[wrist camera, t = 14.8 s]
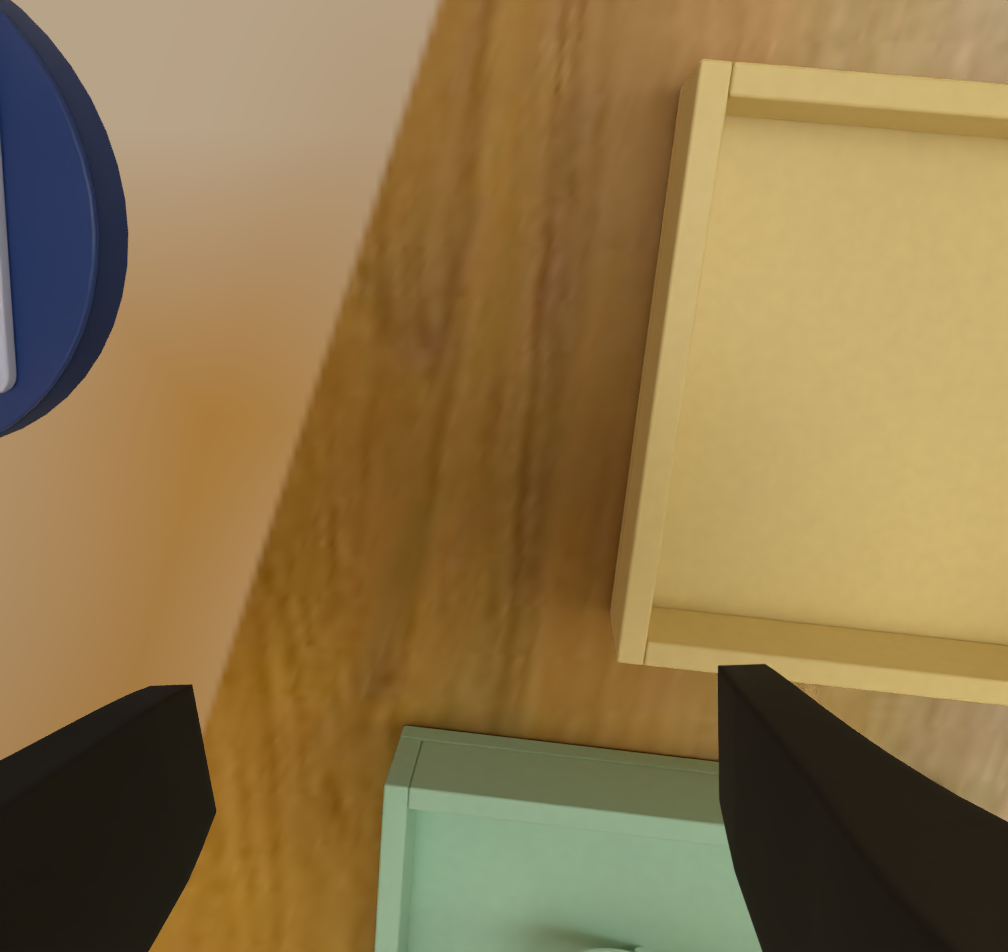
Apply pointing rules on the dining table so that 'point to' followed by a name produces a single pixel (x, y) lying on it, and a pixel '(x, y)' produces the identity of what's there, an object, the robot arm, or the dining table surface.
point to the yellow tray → (826, 387)
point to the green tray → (553, 850)
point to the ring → (607, 951)
